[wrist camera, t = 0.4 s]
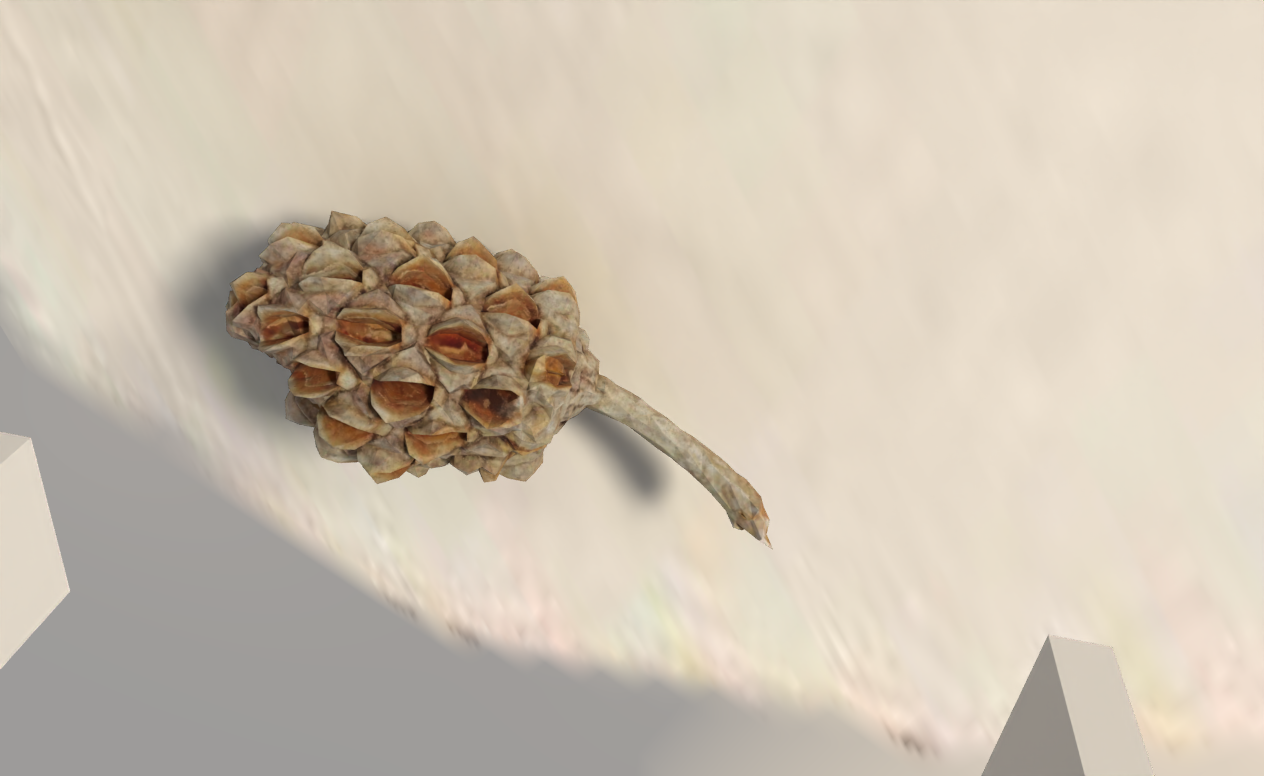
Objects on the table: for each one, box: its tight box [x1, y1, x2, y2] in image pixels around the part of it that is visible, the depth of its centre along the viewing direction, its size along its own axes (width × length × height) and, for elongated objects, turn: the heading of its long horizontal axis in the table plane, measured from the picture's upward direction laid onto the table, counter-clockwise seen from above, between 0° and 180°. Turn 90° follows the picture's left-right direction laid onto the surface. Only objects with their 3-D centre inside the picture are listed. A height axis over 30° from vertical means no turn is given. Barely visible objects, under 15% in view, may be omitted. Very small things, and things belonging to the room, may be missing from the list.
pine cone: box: [226, 211, 773, 549], centre depth 38 cm, size 22×10×10 cm, turn 69°
